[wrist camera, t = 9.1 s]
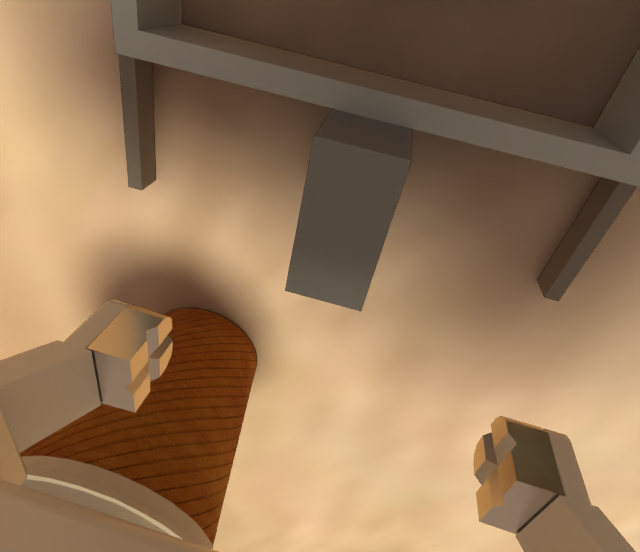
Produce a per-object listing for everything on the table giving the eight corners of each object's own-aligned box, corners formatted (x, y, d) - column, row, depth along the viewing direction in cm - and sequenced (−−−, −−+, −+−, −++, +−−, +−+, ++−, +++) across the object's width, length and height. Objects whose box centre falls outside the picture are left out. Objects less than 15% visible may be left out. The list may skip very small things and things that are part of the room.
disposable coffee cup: (159, 250, 21) (-60, 474, 11) (316, 346, 23) (245, 612, 13) (109, 353, 26) (-70, 567, 17) (240, 424, 28) (148, 656, 18)
